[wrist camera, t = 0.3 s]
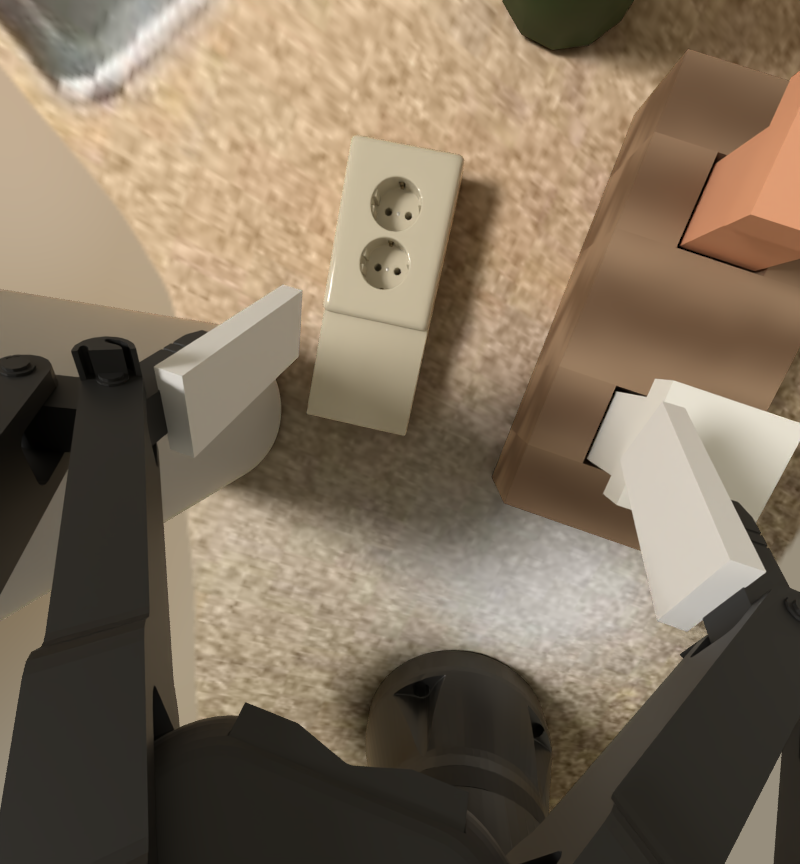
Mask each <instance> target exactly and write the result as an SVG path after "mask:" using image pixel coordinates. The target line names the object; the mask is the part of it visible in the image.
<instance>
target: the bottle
mask: <svg viewBox="0 0 800 864" xmlns="http://www.w3.org/2000/svg"><path fill="white" fill-rule="evenodd" d="M633 1H634V0H503V3H504V5H505V7H506V9H507V10H508V12H509V14H510V16H511V17H512V19H513V21H514V23H515V24H516V26H517V28H518V30H519V31H520V33H521V34H522V35H524V36H526V37H528V38H530V39H532V40H534V41H536V42H538V43H540V44H542V45H544V46H546V47H547V48H549V49H551V50H556V49H564V48H571V47H579V46H587V45H590V44H591V43H592V42H594V41H595V40H596V39H597V38H599V37H600V36H601V35H603V34H604V33H605V32H607V31H608V30H609V29H611V28H612V27H613V26H615V25H616V24H617V23H619V22H620V21H621V20H622V18H623V17H624V15H625V13H626V12H627V10H628V9H629V7H630V5H631V4H632V2H633Z"/></svg>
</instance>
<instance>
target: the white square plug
mask: <svg viewBox="0 0 800 864" xmlns="http://www.w3.org/2000/svg"><path fill="white" fill-rule="evenodd" d="M662 401H664V402H667V403H670V404H674V405H677V406H680V407H684V408H685V409H686V411H687V413H688V415H689V417H690V419H691V421H692V423H693V425H694V427H695V429H696V431H697V433H698V435H699V437H700V439H701V441H702V443H703V445H704V447H705V449H706V451H707V453H708V455H709V457H710V459H711V461H712V463H713V465H714V467H715V469H716V471H717V473H718V475H719V477H720V479H721V481H722V483H723V485H724V487H725V489H726V491H727V493H728V495H729V497H730V499H731V500H734V501H737V502H739V503H740V504H741V505H742V506H743V508H744V509H745V510H746V511H747V512H748V513H749V514H750V515H751V516H752V517H753V519H754V521H755V523H756V522H757V520H758V518H759V516H760V514H761V513H762V511H763V509H764V507H765V505H766V503H767V501H768V499H769V498H770V496H771V494H772V492H773V490H774V488H775V486H776V485H777V483H778V481H779V479H780V477H781V475H782V473H783V471H784V470H785V468H786V466H787V464H788V462H789V460H790V458H791V457H792V455H793V453H794V451H795V449H796V447H797V445H798V443H799V442H800V423H798V422H795V421H792V420H790V419H787V418H784V417H781V416H778V415H775V414H772V413H769V412H766V411H763V410H760V409H757V408H754V407H751V406H748V405H745V404H742V403H739V402H736V401H733V400H730V399H727V398H724V397H721V396H718V395H715V394H713V393H710V392H707V391H704V390H701V389H698V388H695V387H692V386H689V385H686V384H683V383H680V382H677V381H674V380H664V379H655V380H654V382H653V384H652V387H651V389H650V391H649V393H648V395H647V397H644V396H638V395H633V394H628V393H622V392H617V391H616V392H615V394H614V396H613V398H612V401H611V403H610V405H609V408H608V410H607V412H606V415H605V417H604V419H603V421H602V424H601V426H600V428H599V431H598V433H597V435H596V437H595V440H594V442H593V444H592V447H591V449H590V451H589V453H588V456H587V458H586V459H588V460H589V461H591V462H592V463H594V464H595V465H597V466H598V467H600V468H601V469H603V470H604V471H606V472H607V473H609V474H610V475H611V477H610V479H609V482H608V484H607V486H606V488H605V490H604V493H603V494H604V495H605V496H606V497H607V498H609V499H610V500H611V501H612V502H614V503H615V504H616V505H618V506H621V507H624V508H627V509H630V510H632V509H631V505H630V501H629V496H628V492H627V488H626V483H625V479H624V474H623V470H622V466H621V461H620V459H621V458H622V456H623V455H624V453H625V452H626V451H627V449H628V448H629V447H630V445H631V444H632V442H633V441H634V440H635V438H636V437H637V435H638V434H639V433H640V431H641V430H642V429H643V427H644V426H645V424H646V423H647V422H648V420H649V419H650V417H651V416H652V415H653V413H654V412H655V411H656V409H657V408H658V406H659V405H660V404H661V402H662Z"/></svg>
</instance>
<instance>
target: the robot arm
mask: <svg viewBox="0 0 800 864" xmlns="http://www.w3.org/2000/svg"><path fill="white" fill-rule="evenodd" d="M301 308H302V290H299V289H296V288H293V287H290V286H286V285H281V286H280V287H278V288H277V289H275V290H274V291H272V292H270V293H269V294H267V295H266V296H264V297H263V298H261V299H259V300H258V301H256V302H255V303H253V304H252V305H250V306H248V307H247V308H245V309H244V310H242V311H241V312H239V313H237V314H236V315H234V316H233V317H231V318H230V319H228V320H226V321H225V322H223V323H222V324H220V325H218V326H217V327H215V328H214V329H212V330H211V331H209V332H207V331H204V330H200V331H196V332H193V333H189V334H185V335H184V336H182V337H180V338H179V339H177V340H175V341H174V342H173V344H172V343H170V344H169V345H167V346H165V347H164V349H160V350H159V351H157V352H155V353H154V354H152V355H150V356H149V357H147V358H145V359H144V360H142V361H140V362H139V359H138V354H137V350H136V347H135V345H134V343H132V342H131V341H129V340H127V339H124V338H120V337H110V336H103V337H94V338H90V339H87V340H83V341H81V342H79V343H78V344H76V345H74V347H73V348H72V350H71V353H72V356H73V359H74V362H75V365H76V368H77V371H78V374H79V377H73V376H64V375H55V372H54V370H53V367H52V364H51V363H50V361H49V360H48V359H46V358H44V357H41V356H36V355H20V354H17V355H13V356H11V355H10V356H6V357H3V358H0V594H1V593H2V591H3V589H4V587H5V585H6V583H7V581H8V580H9V578H10V576H11V574H12V572H13V570H14V568H15V567H16V565H17V563H18V561H19V559H20V557H21V556H22V554H23V552H24V550H25V548H26V546H27V544H28V543H29V541H30V539H31V537H32V535H33V533H34V531H35V530H36V528H37V526H38V524H39V522H40V520H41V518H42V517H43V515H44V513H45V511H46V509H47V507H48V505H49V504H50V502H51V500H52V498H53V496H54V494H55V492H56V491H57V489H58V487H59V485H60V483H61V481H62V480H63V478H64V476H65V474H66V472H67V470H68V474H67V482H66V489H65V496H64V503H63V510H62V518H61V525H60V532H59V539H58V547H57V554H56V561H55V568H54V575H53V583H52V590H51V597H50V605H49V612H48V619H47V626H46V633H45V638H44V642H43V644H42V646H41V647H40V648H38V649H36V650H34V651H32V652H31V654H30V655H29V658H28V659H27V661H26V664H25V668H24V672H23V676H22V681H21V687H20V694H19V699H18V705H17V711H16V717H15V724H14V730H13V736H12V742H11V748H10V754H9V760H8V766H7V772H6V778H5V784H4V791H3V796H2V803H1V809H0V864H725V862H726V860H727V858H728V856H729V854H730V852H731V850H732V848H733V846H734V844H735V842H736V840H737V838H738V836H739V834H740V832H741V830H742V828H743V826H744V824H745V822H746V820H747V818H748V817H749V815H750V812H751V811H752V809H753V806H754V805H755V803H756V800H757V799H758V797H759V795H760V793H761V791H762V789H763V787H764V785H765V783H766V781H767V779H768V777H769V775H770V773H771V771H772V770H773V768H774V766H775V764H776V761H777V760H778V758H779V756H780V754H781V752H782V757H781V772H780V784H779V798H778V812H777V825H776V839H775V853H774V864H800V592H798V591H796V590H793V589H791V588H790V587H789V585H788V583H787V582H786V580H785V578H784V576H783V574H782V572H781V570H780V568H779V566H778V564H777V562H776V561H775V559H774V557H773V555H772V553H771V551H770V549H769V548H767V544H766V542H765V540H764V538H763V536H761V535H760V533H761V532H760V530H759V528H758V527H757V525H756V523H755V521H754V519H753V517H752V516H751V515H750V514H749V513H748V512H747V511H746V510H745V509H744V508H743V506H742V505H741V504H740V503H739V502H737V501H734V500H731V499H730V497H729V495H728V493H727V491H726V489H725V487H724V485H723V483H722V481H721V479H720V477H719V475H718V473H717V471H716V469H715V467H714V465H713V463H712V461H711V459H710V457H709V455H708V453H707V451H706V449H705V447H704V445H703V443H702V441H701V439H700V437H699V435H698V433H697V431H696V429H695V427H694V425H693V423H692V421H691V419H690V417H689V415H688V413H687V411H686V409H685V408H684V407H680V406H677V405H674V404H670V403H667V402H664V401H662V402H661V404H660V405H659V406H658V408H657V409H656V411H655V412H654V413H653V415H652V416H651V417H650V419H649V420H648V422H647V423H646V424H645V426H644V427H643V429H642V430H641V431H640V433H639V434H638V435H637V437H636V438H635V440H634V441H633V442H632V444H631V445H630V447H629V448H628V449H627V451H626V452H625V453H624V455H623V456H622V458H621V459H620V461H621V466H622V470H623V474H624V479H625V483H626V488H627V492H628V496H629V501H630V505H631V509H632V514H633V518H634V522H635V527H636V531H637V536H638V540H639V544H640V549H641V553H642V557H643V562H644V566H645V571H646V575H647V579H648V584H649V588H650V592H651V597H652V601H653V605H654V610H655V614H656V619H657V621H658V622H661V623H664V624H667V625H670V626H673V627H675V628H678V629H681V630H684V631H689V630H690V629H691V628H693V627H694V626H695V625H697V624H698V623H699V622H701V621H702V620H703V621H704V624H705V627H706V630H707V634H708V635H706V636H705V637H704V638H702V639H701V640H699V641H698V642H697V643H695V644H694V645H692V646H691V647H690V648H688V649H687V650H685V651H684V652H682V653H681V654H680V656H681V657H683V660H682V661H681V662H680V663H679V664H678V665H677V666H676V668H675V669H674V670H673V671H672V672H671V673H670V675H669V676H668V677H667V678H666V679H665V680H664V682H663V683H662V684H661V685H660V686H659V687H658V688H657V690H656V691H655V692H654V693H653V694H652V695H651V697H650V698H649V699H648V700H647V701H646V702H645V704H644V705H643V706H642V707H641V708H640V709H639V710H638V712H637V713H636V714H635V715H634V716H633V717H632V719H631V720H630V721H629V722H628V723H627V724H626V725H625V727H624V728H623V729H622V730H621V731H620V732H619V734H618V735H617V736H616V737H615V738H614V739H613V741H612V742H611V743H610V744H609V745H608V746H607V747H606V749H605V750H604V751H603V752H602V753H601V754H600V756H599V757H598V758H597V759H596V760H595V761H594V763H593V764H592V765H591V766H590V767H589V768H588V769H587V771H586V772H585V773H584V774H583V775H582V776H581V778H580V779H579V780H578V781H577V782H576V783H575V784H574V786H573V787H572V788H571V789H570V790H569V791H568V793H567V794H566V795H565V796H564V797H563V798H562V800H561V801H560V802H559V803H558V804H557V805H556V806H555V808H554V809H553V810H552V811H551V812H550V813H549V798H550V781H551V765H552V747H551V739H550V734H549V731H548V727H547V724H546V721H545V717H544V714H543V711H542V708H541V705H540V703H539V701H538V699H537V697H536V695H535V694H534V692H533V691H532V689H531V688H530V687H529V685H528V684H527V683H526V682H525V681H524V680H523V679H522V678H521V677H520V676H519V675H518V674H517V673H515V672H514V671H513V670H512V669H510V668H509V667H507V666H506V665H504V664H502V663H500V662H498V661H496V660H494V659H492V658H489V657H487V656H483V655H480V654H476V653H472V652H466V651H438V652H432V653H428V654H424V655H421V656H418V657H416V658H413V659H411V660H409V661H407V662H405V663H404V664H402V665H401V666H399V667H398V668H396V669H395V670H394V671H393V672H392V673H390V674H389V675H388V676H387V677H386V679H385V680H384V681H383V682H382V684H381V685H380V687H379V688H378V690H377V692H376V693H375V696H374V698H373V701H372V704H371V707H370V712H369V718H368V723H367V728H366V738H365V747H366V757H367V763H368V767H364V766H352V765H349V764H347V763H345V762H344V761H343V760H341V759H340V758H339V757H338V756H337V755H335V754H334V753H333V752H332V751H331V750H329V749H328V748H327V747H326V746H325V745H323V744H322V743H321V742H320V741H318V740H317V739H316V738H315V737H314V736H312V735H311V734H310V733H309V732H308V731H306V730H305V729H304V728H303V727H302V726H300V725H299V724H298V723H296V722H293V721H291V720H288V719H286V718H283V717H281V716H278V715H276V714H273V713H271V712H268V711H266V710H263V709H261V708H258V707H256V706H253V705H251V704H248V703H246V702H245V704H244V706H243V708H242V710H241V712H240V714H239V716H231V715H228V716H217V717H211V718H206V719H202V720H198V721H195V722H193V723H189V724H187V725H184V726H182V727H179V715H178V707H177V700H176V695H175V688H174V680H173V667H172V653H171V652H172V651H171V636H170V621H169V604H168V588H167V573H166V558H165V541H164V525H163V509H162V493H161V478H160V462H159V449H158V445H157V442H158V441H159V440H160V439H161V438H162V437H164V436H165V435H166V434H167V436H168V442H169V447H170V450H173V451H176V452H179V453H182V454H185V455H188V456H190V457H193V458H195V457H196V456H197V455H198V454H199V453H200V452H201V451H202V450H203V449H204V448H205V447H206V446H207V445H208V444H209V443H210V442H211V441H212V440H213V439H214V438H215V437H216V436H217V435H218V434H219V433H221V432H222V431H223V430H224V429H225V428H226V427H227V426H228V425H229V424H230V423H231V422H232V421H233V420H234V419H235V418H236V417H237V416H238V415H239V414H240V413H241V412H242V411H243V410H244V409H245V408H246V407H247V406H248V405H249V404H250V403H251V402H252V401H253V400H254V399H255V398H257V397H258V396H259V395H260V394H261V393H262V392H263V391H264V390H265V389H266V388H267V387H268V386H269V385H270V384H271V383H272V382H273V381H274V380H275V379H276V378H277V377H278V376H279V375H280V374H281V373H282V372H283V371H284V370H285V369H286V368H287V367H288V366H289V365H290V364H292V363H293V362H294V361H295V360H296V359H297V358H298V357H299V346H300V327H301ZM548 814H549V815H548Z"/></svg>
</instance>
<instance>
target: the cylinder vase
mask: <svg viewBox="0 0 800 864" xmlns="http://www.w3.org/2000/svg"><path fill="white" fill-rule="evenodd" d="M217 326H218V325H217V324H213V323H208V322H202V321H195V320H189V319H183V318H177V317H170V316H164V315H158V314H152V313H145V312H139V311H133V310H127V309H121V308H115V307H108V306H102V305H96V304H89V303H84V302H77V301H71V300H65V299H59V298H53V297H46V296H40V295H34V294H27V293H21V292H15V291H9V290H2V289H0V358H3V357H6V356H10V355H11V356H13V355H17V354H20V355H36V356H41V357H44V358H46V359H48V360H49V361H50V363H51V364H52V367H53V370H54V372H55V375H64V376H73V377H79V374H78V371H77V368H76V365H75V362H74V359H73V356H72V353H71V350H72V348H73V347H74V345H76V344H78V343H79V342H81V341H83V340H87V339H90V338H94V337H103V336H110V337H120V338H124V339H127V340H129V341H131V342H132V343H134V345H135V347H136V350H137V354H138V359H139V362H140V361H142V360H144V359H145V358H147V357H149V356H150V355H152V354H154V353H155V352H157V351H159V350H160V349H164V347H165V346H167V345H169V344H170V343H172V344H173V342H174V341H175V340H177V339H179V338H180V337H182V336H184V335H185V334H189V333H193V332H196V331H200V330H204V331H207V332H209V331H211V330H212V329H214V328H215V327H217ZM280 421H281V398H280V392H279V388H278V385H277V382H276V379H275V380H274V381H273V382H272V383H271V384H270V385H269V386H268V387H267V388H266V389H265V390H264V391H263V392H262V393H261V394H260V395H259V396H258V397H257V398H255V399H254V400H253V401H252V402H251V403H250V404H249V405H248V406H247V407H246V408H245V409H244V410H243V411H242V412H241V413H240V414H239V415H238V416H237V417H236V418H235V419H234V420H233V421H232V422H231V423H230V424H229V425H228V426H227V427H226V428H225V429H224V430H223V431H222V432H221V433H219V434H218V435H217V436H216V437H215V438H214V439H213V440H212V441H211V442H210V443H209V444H208V445H207V446H206V447H205V448H204V449H203V450H202V451H201V452H200V453H199V454H198V455H197V456H196V457H195V458H193V457H190V456H188V455H185V454H182V453H179V452H176V451H173V450H170V447H169V442H168V436H167V434H166V435H165V436H164V437H162V438H161V439H160V440H159V441H158V442H157V445H158V449H159V462H160V478H161V493H162V509H163V523H165V522H166V521H168V520H170V519H171V518H173V517H175V516H176V515H178V514H180V513H181V512H183V511H185V510H186V509H188V508H190V507H191V506H193V505H195V504H196V503H198V502H200V501H201V500H203V499H205V498H206V497H208V496H210V495H211V494H213V493H215V492H216V491H218V490H220V489H221V488H223V487H225V486H226V485H228V484H230V483H231V482H233V481H235V480H236V479H238V478H240V477H241V476H243V475H245V474H246V473H248V472H250V471H251V470H252V469H254V468H255V467H256V466H257V465H258V464H259V463H260V462H261V461H262V460H263V459H264V458H265V456H266V455H267V454H268V452H269V451H270V449H271V447H272V446H273V444H274V442H275V439H276V437H277V434H278V430H279V426H280ZM67 474H68V470H67V472H66V474H65V476H64V478H63V480H62V481H61V483H60V485H59V487H58V489H57V491H56V492H55V494H54V496H53V498H52V500H51V502H50V504H49V505H48V507H47V509H46V511H45V513H44V515H43V517H42V518H41V520H40V522H39V524H38V526H37V528H36V530H35V531H34V533H33V535H32V537H31V539H30V541H29V543H28V544H27V546H26V548H25V550H24V552H23V554H22V556H21V557H20V559H19V561H18V563H17V565H16V567H15V568H14V570H13V572H12V574H11V576H10V578H9V580H8V581H7V583H6V585H5V587H4V589H3V591H2V593H1V594H0V621H1V620H3V619H5V618H6V617H8V616H10V615H11V614H13V613H15V612H16V611H18V610H19V609H21V608H23V607H25V606H26V605H28V604H30V603H31V602H33V601H35V600H36V599H38V598H40V597H41V596H43V595H45V594H46V593H48V592H50V591H51V590H52V583H53V575H54V568H55V561H56V554H57V547H58V539H59V532H60V525H61V518H62V510H63V503H64V496H65V489H66V482H67Z"/></svg>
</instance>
